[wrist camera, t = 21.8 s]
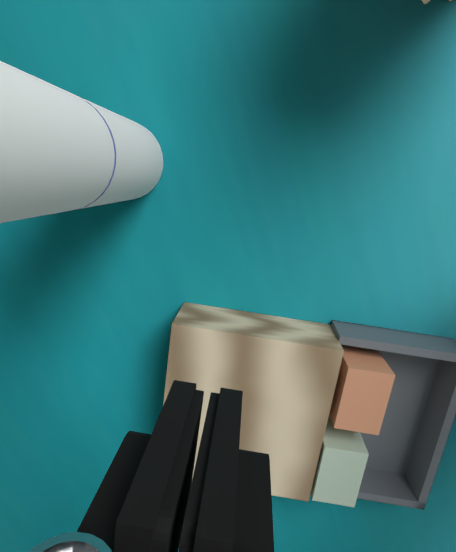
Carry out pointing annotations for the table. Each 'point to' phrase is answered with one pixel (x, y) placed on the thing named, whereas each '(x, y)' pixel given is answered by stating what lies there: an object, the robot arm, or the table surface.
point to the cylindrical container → (67, 151)
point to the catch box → (407, 412)
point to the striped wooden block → (263, 383)
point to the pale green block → (339, 467)
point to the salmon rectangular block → (361, 391)
